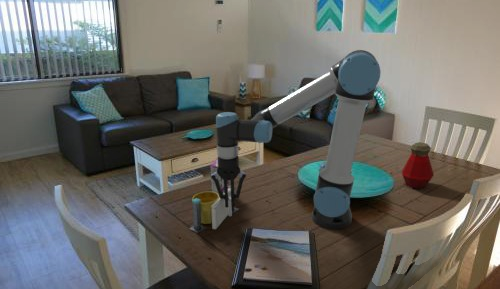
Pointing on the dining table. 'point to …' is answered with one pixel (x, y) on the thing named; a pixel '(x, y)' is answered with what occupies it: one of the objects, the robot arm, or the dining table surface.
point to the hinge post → (234, 209)
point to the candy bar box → (221, 181)
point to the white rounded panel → (220, 210)
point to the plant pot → (206, 205)
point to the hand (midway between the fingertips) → (230, 214)
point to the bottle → (418, 166)
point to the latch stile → (197, 216)
